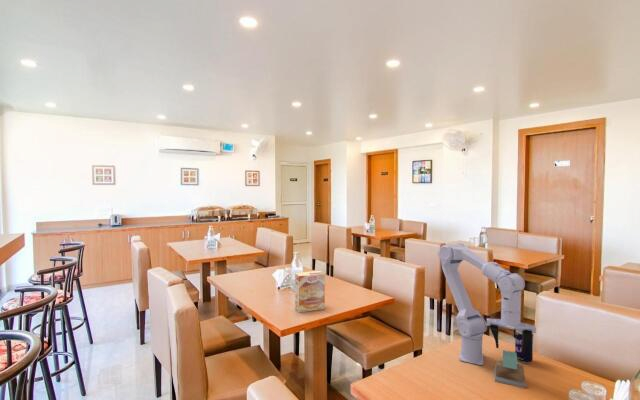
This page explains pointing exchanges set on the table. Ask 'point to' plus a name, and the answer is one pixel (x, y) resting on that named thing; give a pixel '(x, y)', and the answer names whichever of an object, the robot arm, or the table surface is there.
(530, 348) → the beverage can
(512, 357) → the cube
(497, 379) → the plate
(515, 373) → the walnut brick
